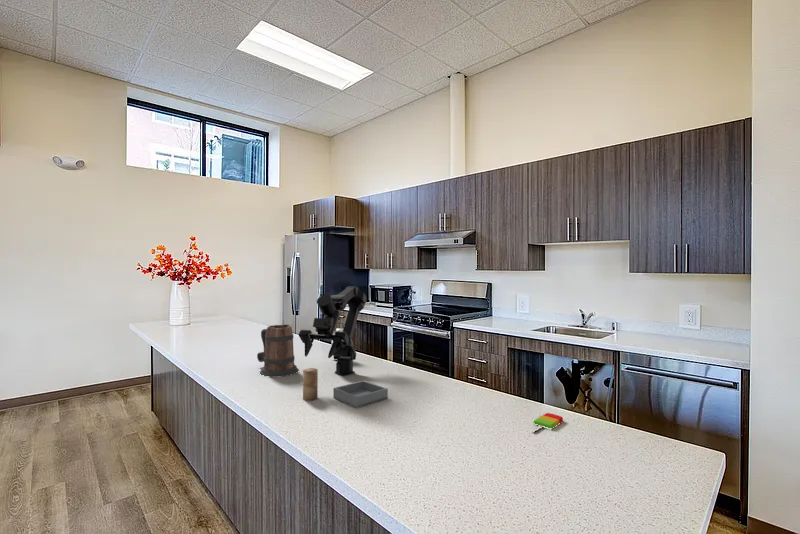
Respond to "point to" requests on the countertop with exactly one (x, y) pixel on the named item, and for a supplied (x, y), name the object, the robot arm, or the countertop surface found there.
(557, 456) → the countertop surface
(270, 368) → the tankard
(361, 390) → the tote
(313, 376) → the walnut cylinder
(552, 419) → the popsicle
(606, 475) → the countertop surface
